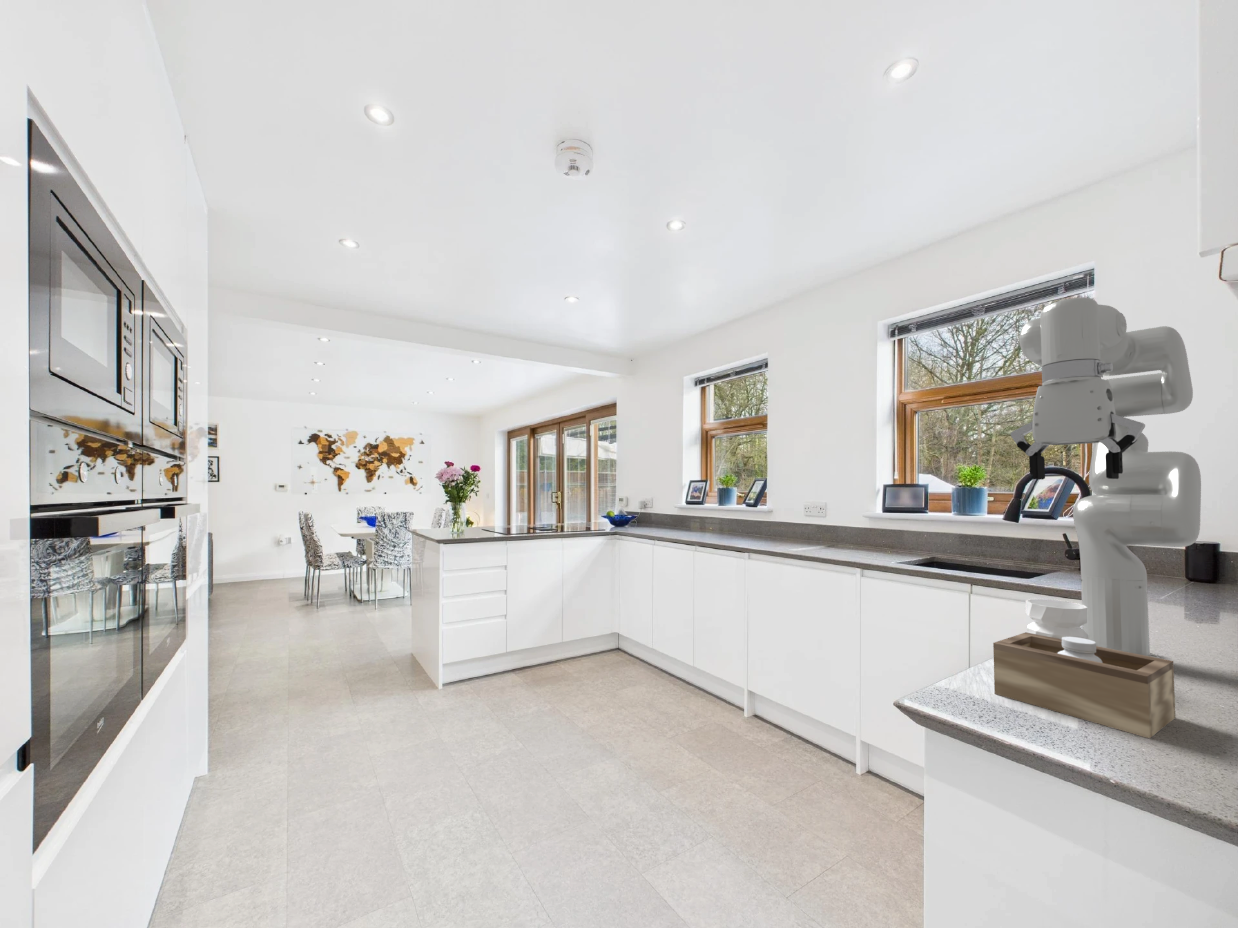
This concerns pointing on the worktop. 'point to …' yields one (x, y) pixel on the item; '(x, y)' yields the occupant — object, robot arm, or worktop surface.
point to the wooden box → (1087, 683)
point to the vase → (1056, 618)
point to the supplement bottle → (1079, 648)
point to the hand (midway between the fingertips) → (1074, 478)
